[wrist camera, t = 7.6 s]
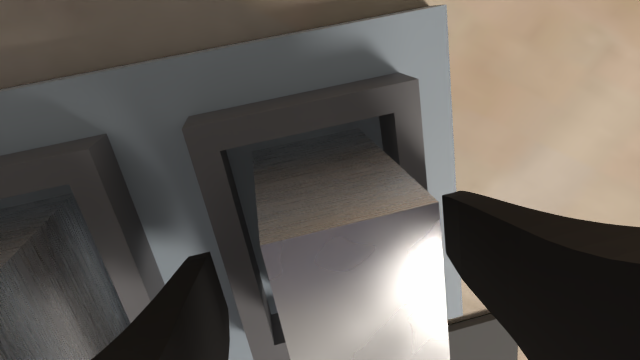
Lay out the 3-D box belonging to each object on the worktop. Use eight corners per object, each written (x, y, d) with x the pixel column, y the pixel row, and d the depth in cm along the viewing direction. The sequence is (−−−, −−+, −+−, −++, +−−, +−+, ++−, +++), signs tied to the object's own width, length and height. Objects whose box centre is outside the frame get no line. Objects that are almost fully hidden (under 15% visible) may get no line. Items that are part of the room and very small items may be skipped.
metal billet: (286, 291, 15) (313, 445, 10) (251, 151, 13) (260, 245, 8) (378, 268, 16) (453, 403, 10) (358, 127, 14) (438, 202, 8)
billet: (32, 358, 14) (-97, 567, 9) (-48, 219, 12) (-281, 380, 7) (134, 332, 15) (71, 518, 9) (73, 192, 13) (-56, 325, 7)
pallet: (-4, 419, 16) (-49, 493, 14) (-200, 128, 12) (-322, 158, 9) (449, 297, 18) (483, 343, 16) (429, 5, 14) (473, 2, 11)
